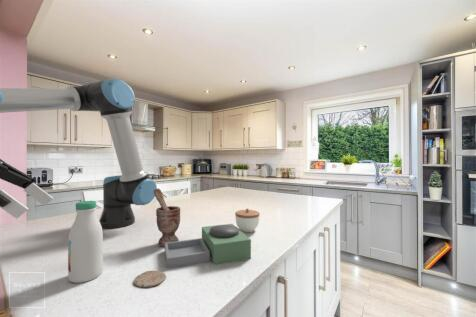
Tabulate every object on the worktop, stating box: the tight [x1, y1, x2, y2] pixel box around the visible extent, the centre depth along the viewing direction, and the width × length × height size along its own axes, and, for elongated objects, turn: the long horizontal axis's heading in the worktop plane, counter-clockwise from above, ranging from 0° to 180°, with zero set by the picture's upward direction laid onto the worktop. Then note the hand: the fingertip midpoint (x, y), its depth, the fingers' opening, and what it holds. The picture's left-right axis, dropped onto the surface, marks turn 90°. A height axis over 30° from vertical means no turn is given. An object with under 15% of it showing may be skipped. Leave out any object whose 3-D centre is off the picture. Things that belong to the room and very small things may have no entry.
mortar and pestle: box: [154, 188, 181, 248], centre depth 84 cm, size 12×9×20 cm
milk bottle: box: [67, 200, 104, 284], centre depth 60 cm, size 8×8×20 cm
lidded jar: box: [234, 208, 260, 233], centre depth 99 cm, size 11×11×9 cm
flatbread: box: [133, 270, 167, 288], centre depth 59 cm, size 8×8×1 cm
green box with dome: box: [201, 223, 252, 266], centre depth 77 cm, size 18×12×7 cm, turn 21°
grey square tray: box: [164, 237, 211, 269], centre depth 73 cm, size 13×13×3 cm
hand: (37, 207), depth 56 cm, fingers open, 13 cm apart
